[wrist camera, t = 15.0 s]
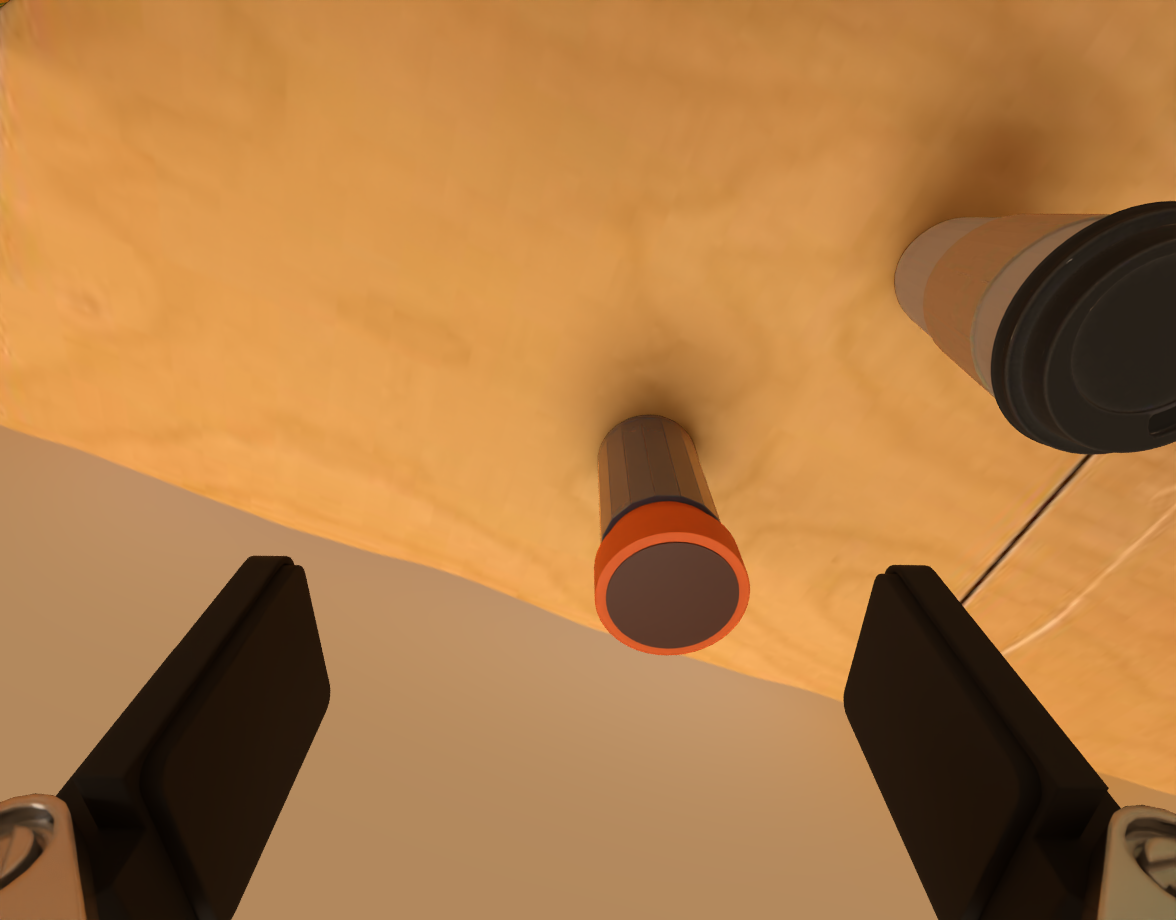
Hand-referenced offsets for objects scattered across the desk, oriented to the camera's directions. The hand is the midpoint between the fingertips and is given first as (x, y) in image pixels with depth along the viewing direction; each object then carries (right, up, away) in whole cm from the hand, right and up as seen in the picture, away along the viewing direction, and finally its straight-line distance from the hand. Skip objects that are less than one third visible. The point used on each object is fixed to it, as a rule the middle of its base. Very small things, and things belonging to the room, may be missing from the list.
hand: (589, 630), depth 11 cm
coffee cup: (+20, +13, +25) cm, 35 cm away
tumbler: (+4, +3, +30) cm, 31 cm away
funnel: (+4, +1, +27) cm, 27 cm away
